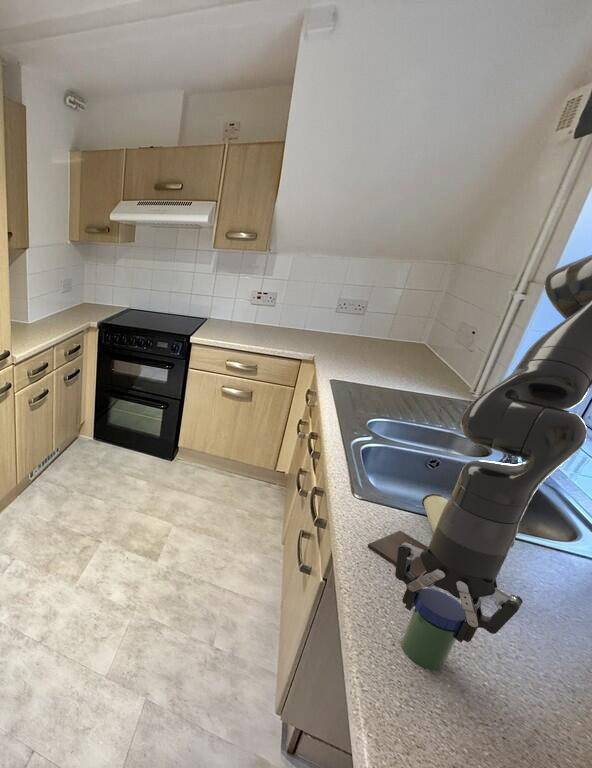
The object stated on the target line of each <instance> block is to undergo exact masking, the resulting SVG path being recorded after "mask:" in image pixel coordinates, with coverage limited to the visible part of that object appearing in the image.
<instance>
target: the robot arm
mask: <svg viewBox="0 0 592 768" xmlns="http://www.w3.org/2000/svg"><path fill="white" fill-rule="evenodd" d="M544 290H545V293H546V296H547V298H548V300H549V301H550V303H551V304H552V306H553V308H554V309H555V310H556V311H557V312H558V313H559V315H561V316H562V317H563V319H564V320H563V321H561V322H560V323H559V324H556V325H555V326H554V327H553V328H551V329H549V330H548V331H547V332H546V333H544V334H543V335H542V336H540V338H538V339H537V340H536V341H535V342H534V343H533V344H532V345H531V346H530V347H529V348H528V350H527V351H526V352H525V354H524V355H523V356H522V358H521V359H520V360H519V362H518V363H517V365H516V367H515V368H514V370H513V371H512V373H510V375H508V376H507V377H506V378H504V379H503V380H502V381H500V382H499V383H497V384H496V385H495V386H493V387H491V388H490V389H488V390H487V391H485V392H483V393H482V394H481V395H479V396H478V397H477V398H475V399H474V400H473V401H472V402H471V403H469V405H468V406H467V407H466V409H465V410H464V412H463V414H462V416H461V419H460V428H461V432H462V434H463V436H464V437H465V438H466V439H467V440H468V441H470V442H471V443H474V444H475V445H478V446H482V447H484V448H487V449H490V450H493V451H497V452H501V453H503V454H506V455H510V456H513V457H515V458H516V457H517V458H521V459H522V460H524V462H521V463H517V464H510V463H503V462H496V461H489V460H478V459H477V460H471V461H469V462H467V463H466V464H464V465H463V467H462V469H461V471H460V473H459V475H458V478H457V480H456V483H455V485H454V488H453V491H452V493H451V495H450V498H449V499H448V500H449V501H448V502H447V504H446V505H445V507H444V509H443V511H442V514H441V516H440V519H439V521H438V524H437V526H436V529H435V531H434V533H433V534H432V536H431V539H430V542H429V544H428V546H427V547H428V548H426V549H425V550H422V549H420V548H417V547H415V546H414V545H413V543H412V542H410V541H405V542H404V543H403V544H402V545H401V546H400V547H399V548H398V555H397V564H396V566H395V573H394V576H395V578H396V579H397V580H398V581H402V583H404V584H405V586H406V589H405V591H404V594H403V595H402V603H403V604H404V609H406V610H408V611H410V612H411V611H412V609H414V608H415V606H414V601H415V598H416V596H417V594H418V592H419V590H421V589H423V588H427V587H428V586H429V585H432V584H433V586H435V587H437V588H438V589H441V590H443V591H446V592H448V593H449V594H450V595H451V596H452V597H454V598H457V599H458V600H460V604H461V605H462V608H463V610H464V611H465V615H466V620H464V622H463V624H462V626H461V628H460V630H459V632H458V635H457V637H456V641H458V642H459V643H463V641H464V642H466V643H469V642H471V641H472V639H474V636H475V634H476V632H477V630H478V628H479V629H484V630H485V631H486V632H488V633H490V634H492V635H495V634H497V633H498V632H499V631H500V630H501V629H502V628H503V627H504V626H505V625H506V624H507V623H508V622H509V620H511V618H513V616H514V615H516V613H518V611H519V609H521V606H522V604H523V599H522V598H521V597H520V596H518V595H516V594H512V595H510V594H508V593H507V592H505V591H504V590H502V589H500V588H499V587H498V584H497V577H498V575H499V573H500V571H501V568H502V567H503V564H504V563H505V561H506V559H507V557H508V555H509V552H510V550H511V548H513V546H514V544H515V540H516V538H517V535H518V532H519V528H520V523H521V521H522V519H523V517H524V515H525V512H526V510H527V508H528V506H529V504H530V502H531V501H532V499H533V497H534V495H535V493H536V492H537V490H538V489H539V488H540V487H541V486H542V485H543V483H544V482H545V481H546V480H547V479H548V478H549V477H550V476H551V475H552V474H553V473H554V472H555V471H556V470H558V469H559V468H560V467H561V466H563V464H565V463H566V462H567V461H568V460H570V459H571V458H572V457H573V456H574V455H575V454H576V453H577V452H578V451H579V450H580V449H581V448H582V446H583V445H584V444H585V442H586V439H587V435H588V430H587V426H586V423H585V422H584V419H582V417H580V416H579V415H578V414H577V413H575V412H573V411H570V409H572V408H574V407H576V406H578V405H579V404H580V403H581V402H582V401H583V400H584V398H586V395H587V394H588V392H589V390H590V389H591V387H592V254H590V255H587V256H585V257H582V258H580V259H577V260H575V261H572V262H570V263H567V264H565V265H562V266H560V267H557V268H556V269H554V270H552V271H551V272H549V273H548V274H547V276H546V278H545V280H544ZM417 557H420V558H421V561H422V563H423V565H424V567H425V570H426V571H424V572H423V573H422V574H420V575H418V576H416V577H415V576H414V575H412V574H411V573H410V571H411V564H412V560H415V559H416V558H417ZM488 596H492V597H494V599H495V601H494V605H495V606H496V608H497V610H495V612H494V613H493V614H492V615H491V616H489V615H485V614H484V612H483V608H482V598H484V597H488Z"/></svg>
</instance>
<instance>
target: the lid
mask: <svg viewBox="0 0 592 768" xmlns="http://www.w3.org/2000/svg"><path fill="white" fill-rule="evenodd" d="M415 608H416V609H417V611H418V612H419V613H420V614H421V615H422V616H423V617H424V618H425V619H427V620H428V621H430V622H431V623H433V624H435V625H437V626H439V627H441V628H444V629H448V630H459V629H460V628H461V626H462V624H463V622H464V620H466V615H465V611H464V610H463V608H462V604H461V602H459V601H458V600H457V599H455V597H453V596H452V595H449V594H447V593H445V592H443V591H440V590H438V589H434V588H427V587H423V588H422V589H421V590H419V592H418V594H417V596H416V598H415V601H414V609H415Z"/></svg>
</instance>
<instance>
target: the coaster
mask: <svg viewBox="0 0 592 768" xmlns="http://www.w3.org/2000/svg"><path fill="white" fill-rule="evenodd" d="M405 541H410V542H412V543H413V545H414V546H415V547H417V548H420V549H422V550H425V549H426V548H428V547H429V546H427V545H426V544H424V543H422V542H420V541H418V540H417V539H415V538H414V537H412V536H410V535H409V534H408V533H405V532H404V531H402V530H398V531H396V532H394V533H391V534H388V535H386V536H384V537H381V538H378V539H377V540H373V541H371V542H369V543H368V544H367V548H368V549H370V551H373V552H374V553H376V554H377V555H379V556H380V557H381V558H383V559H384V560H386V561H387V562H389V563H391V564H392V565H394V566H395V567H396V564H397V555H398V548H399V547H400V546H401V545H402V544H403V543H404V542H405ZM424 571H426V570H425V567H424V565H423V563H422V561H421V558H420V557H417V558H416V559H415V560H412V564H411V571H410V573H411V574H412V575H414V576H415V577H416V576H418V575H420V574H422V573H423V572H424Z"/></svg>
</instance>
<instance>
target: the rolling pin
mask: <svg viewBox="0 0 592 768" xmlns="http://www.w3.org/2000/svg"><path fill="white" fill-rule="evenodd" d="M448 501H449V499H447V498H446V497H445V496H443V495H441V494H437V493H430V494H426V495H424V497H423V498H422V502H421V505H422V507H423V508H424V510H425V513H426V516H427V520H428V522H429V525H430V527H431V530H432V532H433V534H434V531H435V529H436V526H437V524H438V521H439V519H440V516H441V514H442V511H443V509H444V507H445V505H446V504H447V502H448Z"/></svg>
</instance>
